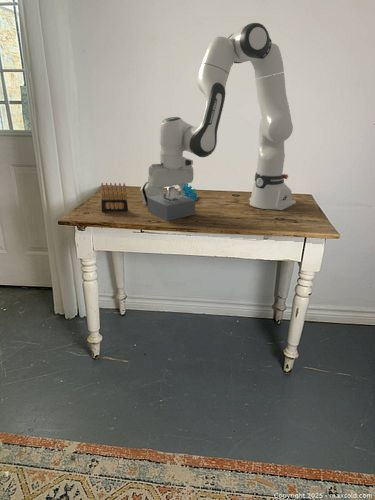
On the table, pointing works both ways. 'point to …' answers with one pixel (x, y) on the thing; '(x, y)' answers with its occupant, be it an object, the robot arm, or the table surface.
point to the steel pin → (171, 193)
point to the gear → (189, 192)
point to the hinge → (148, 192)
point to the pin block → (171, 207)
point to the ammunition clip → (114, 199)
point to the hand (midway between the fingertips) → (171, 196)
